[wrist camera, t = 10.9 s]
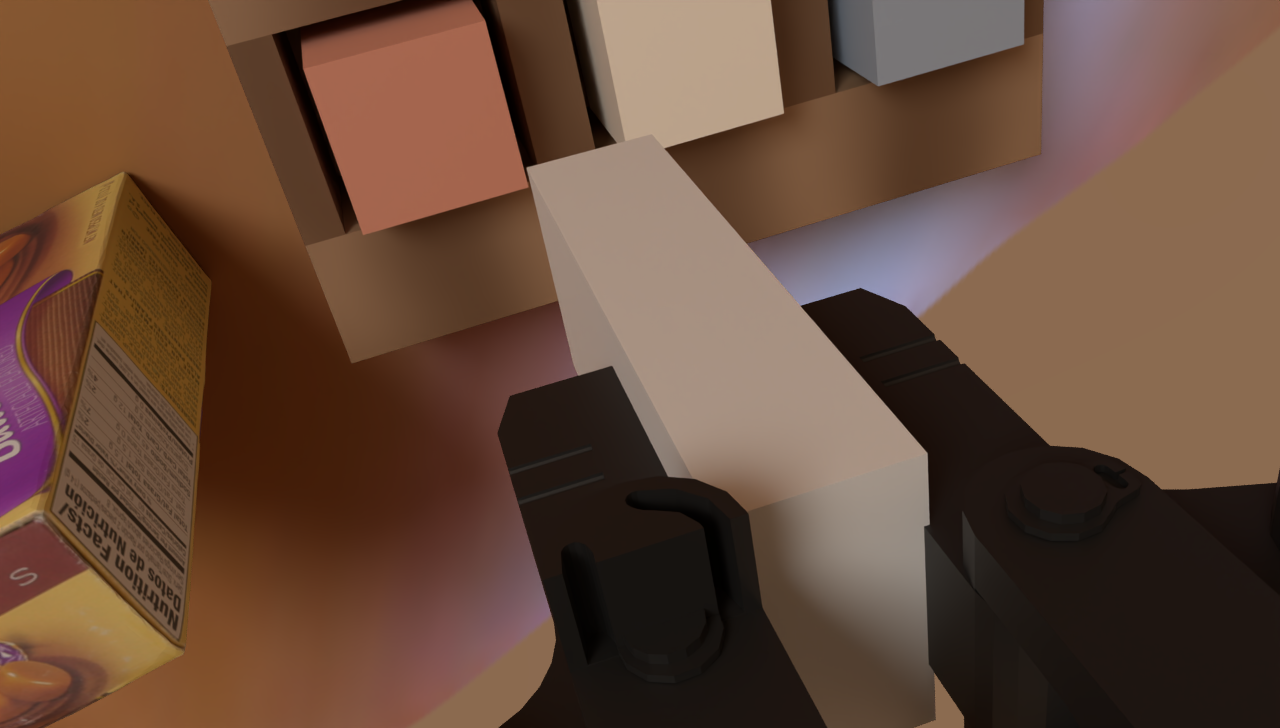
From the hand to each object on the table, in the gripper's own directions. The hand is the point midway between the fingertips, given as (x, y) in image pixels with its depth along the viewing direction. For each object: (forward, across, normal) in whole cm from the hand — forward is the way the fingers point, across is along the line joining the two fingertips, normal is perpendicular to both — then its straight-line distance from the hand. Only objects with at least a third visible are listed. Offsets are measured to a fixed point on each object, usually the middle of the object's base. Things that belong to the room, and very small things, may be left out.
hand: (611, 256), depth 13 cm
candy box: (+20, -13, -7) cm, 24 cm away
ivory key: (+17, +5, -2) cm, 18 cm away
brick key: (+17, -2, -2) cm, 17 cm away
